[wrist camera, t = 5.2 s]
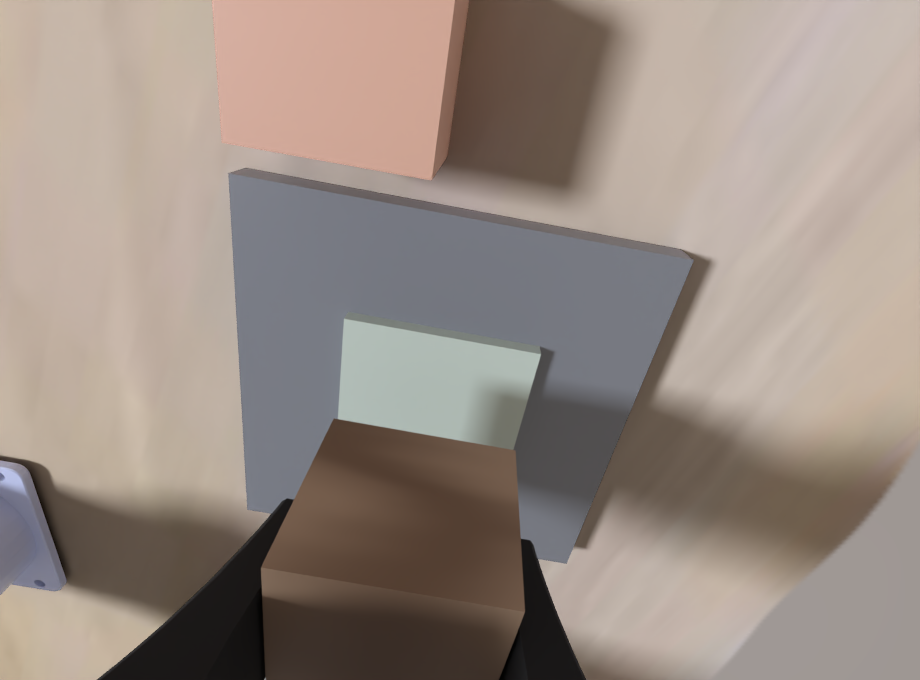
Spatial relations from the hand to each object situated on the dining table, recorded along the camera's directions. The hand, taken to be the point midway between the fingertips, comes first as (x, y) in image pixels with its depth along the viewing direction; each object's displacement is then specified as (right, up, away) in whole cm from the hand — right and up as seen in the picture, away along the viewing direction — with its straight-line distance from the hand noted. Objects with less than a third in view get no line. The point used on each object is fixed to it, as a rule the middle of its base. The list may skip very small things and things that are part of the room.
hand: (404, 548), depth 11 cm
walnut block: (0, +1, +1) cm, 1 cm away
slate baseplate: (0, +3, +6) cm, 7 cm away
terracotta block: (-1, +12, +1) cm, 12 cm away
